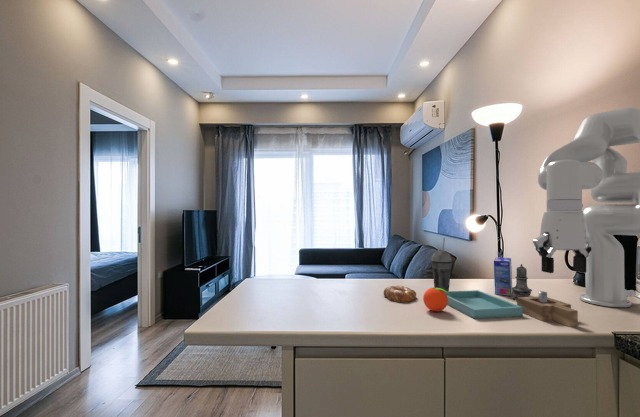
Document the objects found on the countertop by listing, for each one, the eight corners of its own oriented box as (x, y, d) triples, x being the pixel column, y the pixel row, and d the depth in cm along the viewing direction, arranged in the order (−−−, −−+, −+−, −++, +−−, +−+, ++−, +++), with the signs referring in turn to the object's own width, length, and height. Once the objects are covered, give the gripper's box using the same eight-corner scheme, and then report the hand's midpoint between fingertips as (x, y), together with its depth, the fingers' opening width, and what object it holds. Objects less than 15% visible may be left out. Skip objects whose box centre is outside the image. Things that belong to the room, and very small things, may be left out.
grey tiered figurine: (535, 302, 105) (535, 265, 106) (515, 301, 107) (515, 265, 107) (527, 298, 111) (527, 262, 111) (508, 297, 112) (508, 262, 112)
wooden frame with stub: (543, 309, 98) (543, 296, 98) (588, 325, 85) (588, 310, 85) (517, 310, 97) (517, 297, 97) (558, 327, 83) (558, 311, 83)
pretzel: (421, 304, 106) (421, 292, 106) (387, 303, 106) (387, 292, 106) (411, 294, 118) (411, 283, 118) (381, 294, 118) (381, 283, 118)
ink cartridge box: (495, 288, 125) (495, 250, 125) (512, 290, 122) (512, 251, 122) (493, 294, 116) (493, 253, 116) (511, 296, 113) (511, 254, 113)
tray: (478, 297, 112) (478, 290, 112) (522, 316, 92) (522, 307, 92) (437, 299, 110) (437, 291, 110) (474, 318, 90) (474, 309, 90)
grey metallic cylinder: (543, 313, 94) (543, 291, 94) (549, 315, 92) (548, 292, 92) (537, 313, 94) (536, 291, 94) (542, 316, 92) (542, 293, 92)
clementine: (454, 310, 98) (453, 286, 98) (448, 316, 92) (448, 291, 92) (426, 306, 102) (426, 283, 102) (420, 312, 96) (420, 287, 96)
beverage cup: (426, 291, 120) (426, 237, 120) (443, 290, 122) (443, 236, 122) (439, 296, 113) (439, 239, 113) (457, 295, 115) (456, 238, 115)
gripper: (578, 208, 91) (578, 269, 91) (523, 206, 89) (523, 270, 88) (606, 207, 84) (606, 274, 84) (546, 206, 81) (546, 275, 81)
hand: (563, 272), depth 86 cm, fingers open, 9 cm apart
